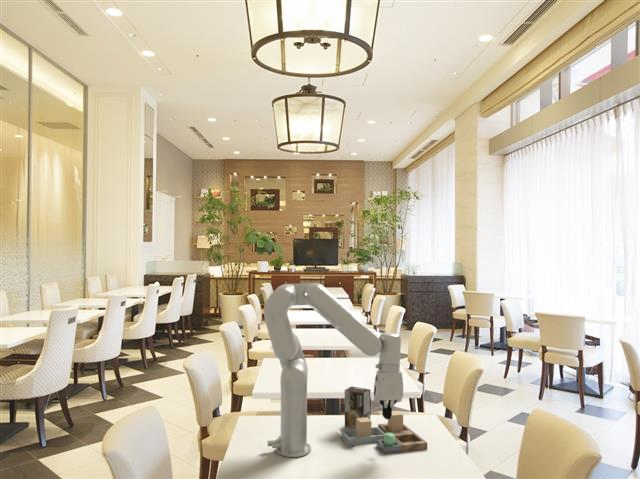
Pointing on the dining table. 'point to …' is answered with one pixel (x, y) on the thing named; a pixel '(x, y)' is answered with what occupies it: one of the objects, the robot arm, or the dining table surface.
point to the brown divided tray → (406, 438)
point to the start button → (389, 439)
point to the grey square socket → (389, 447)
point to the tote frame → (361, 440)
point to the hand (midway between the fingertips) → (386, 417)
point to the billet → (363, 427)
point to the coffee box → (356, 405)
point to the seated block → (395, 422)
